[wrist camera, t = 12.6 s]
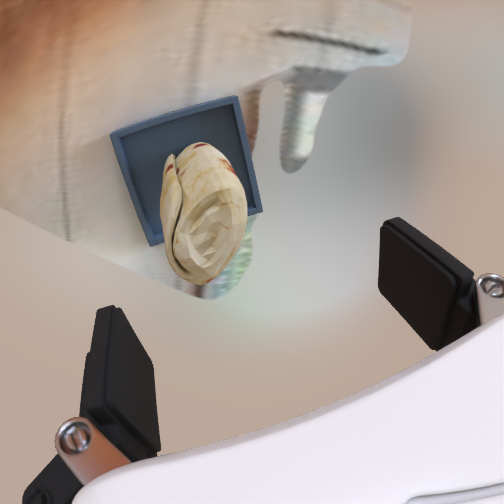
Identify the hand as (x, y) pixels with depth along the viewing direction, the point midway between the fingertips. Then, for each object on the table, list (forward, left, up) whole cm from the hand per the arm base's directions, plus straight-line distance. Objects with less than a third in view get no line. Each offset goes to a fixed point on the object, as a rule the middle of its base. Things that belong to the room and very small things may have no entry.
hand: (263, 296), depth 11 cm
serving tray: (-1, -4, -33) cm, 33 cm away
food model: (-1, -4, -32) cm, 32 cm away
